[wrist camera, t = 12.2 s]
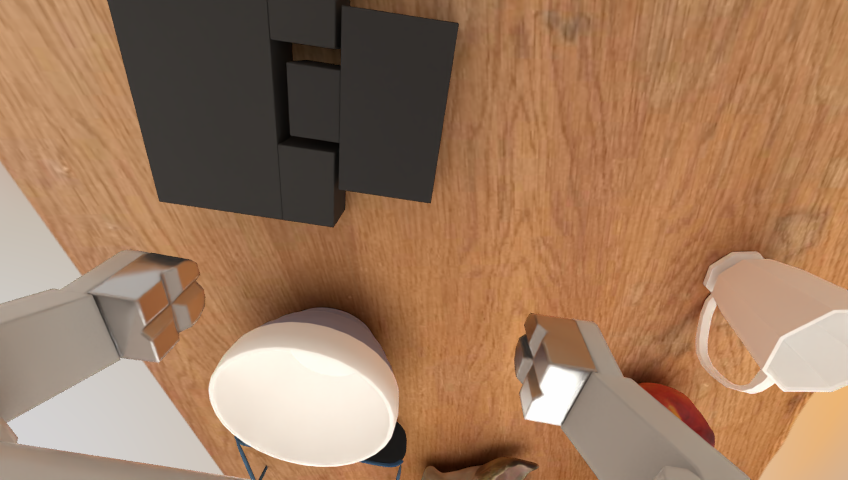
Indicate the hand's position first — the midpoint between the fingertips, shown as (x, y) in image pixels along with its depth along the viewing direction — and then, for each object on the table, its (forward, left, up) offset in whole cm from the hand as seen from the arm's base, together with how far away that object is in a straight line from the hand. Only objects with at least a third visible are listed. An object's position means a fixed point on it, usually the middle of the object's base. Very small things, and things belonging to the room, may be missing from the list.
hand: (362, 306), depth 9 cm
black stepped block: (-2, -3, -17) cm, 18 cm away
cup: (+8, +25, -17) cm, 32 cm away
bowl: (+20, -6, -17) cm, 27 cm away
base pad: (-2, -11, -17) cm, 20 cm away
